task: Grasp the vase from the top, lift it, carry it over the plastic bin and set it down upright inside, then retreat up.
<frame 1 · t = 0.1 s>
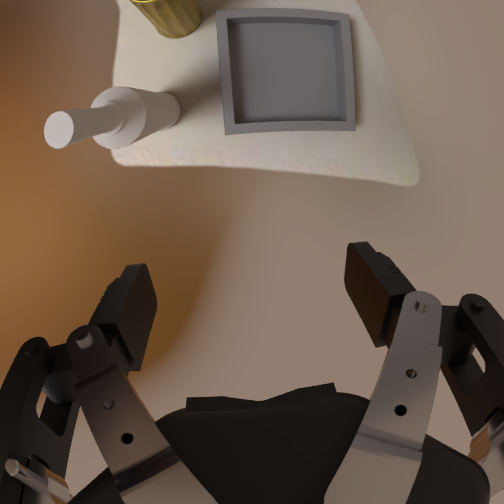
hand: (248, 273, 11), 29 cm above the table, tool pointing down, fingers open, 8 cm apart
bin: (283, 70, 32), on the table
bottle: (162, 111, 33), on the table
vase: (178, 19, 27), on the table
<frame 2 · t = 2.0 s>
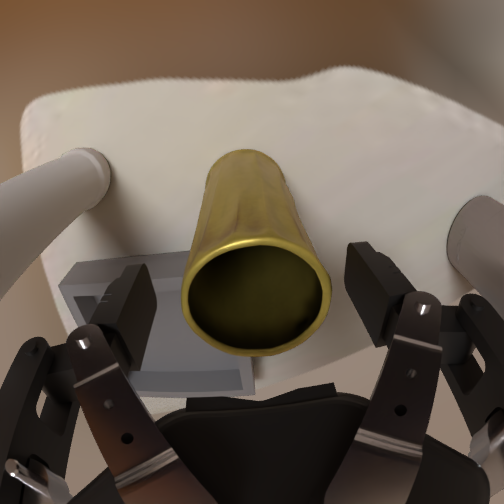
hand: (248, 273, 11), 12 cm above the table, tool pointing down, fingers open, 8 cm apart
bin: (169, 323, 28), on the table
bottle: (87, 174, 21), on the table
vase: (245, 186, 22), on the table
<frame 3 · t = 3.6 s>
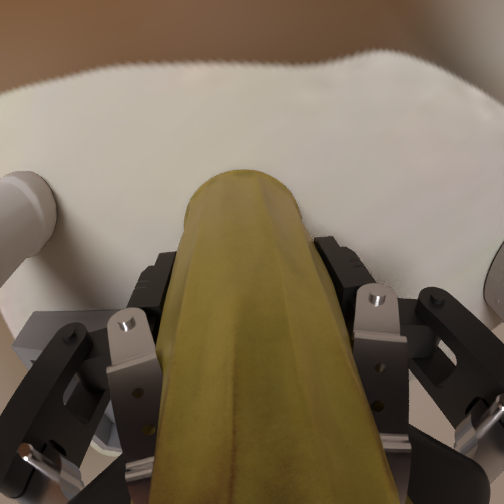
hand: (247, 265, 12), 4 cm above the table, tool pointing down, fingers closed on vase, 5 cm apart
bin: (150, 381, 21), on the table
bottle: (30, 206, 14), on the table
vase: (242, 223, 16), on the table, touching gripper
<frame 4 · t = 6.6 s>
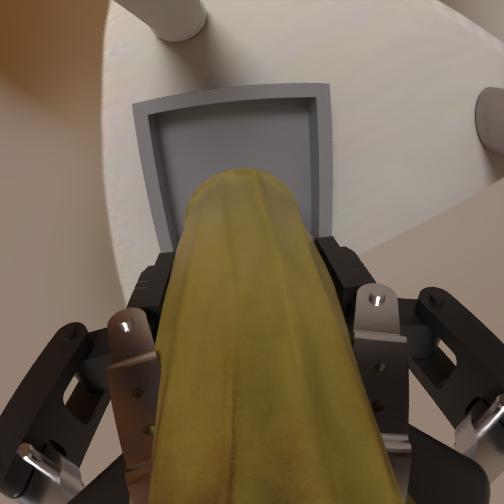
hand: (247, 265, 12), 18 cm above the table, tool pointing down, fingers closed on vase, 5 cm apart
bin: (238, 171, 27), on the table
bottle: (180, 20, 20), on the table
vase: (241, 222, 16), point 13 cm above the table, touching gripper
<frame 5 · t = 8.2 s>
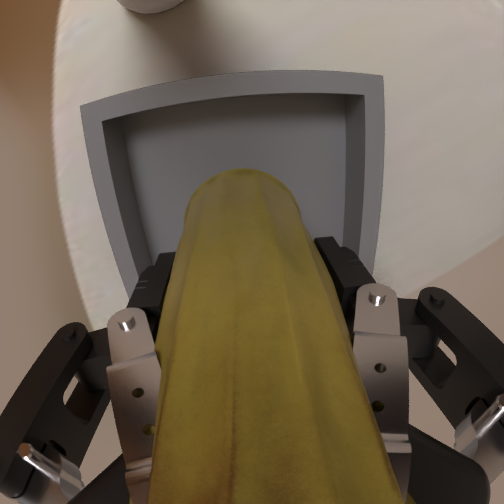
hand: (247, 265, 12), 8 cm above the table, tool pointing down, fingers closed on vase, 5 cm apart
bin: (241, 200, 19), on the table
vase: (242, 222, 16), point 4 cm above the table, touching gripper
when the fingers open (6 cm above the table, at t = 9.5 s): vase drops 1 cm, resting on bin.
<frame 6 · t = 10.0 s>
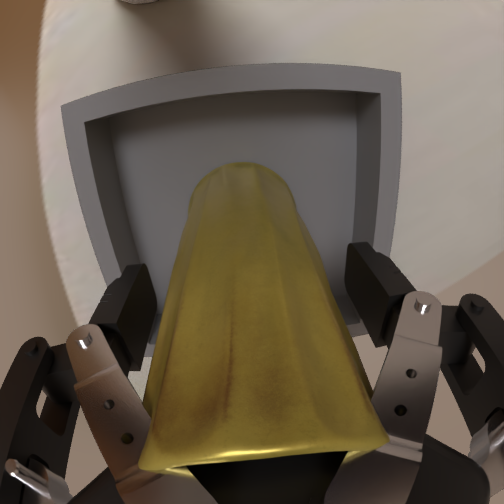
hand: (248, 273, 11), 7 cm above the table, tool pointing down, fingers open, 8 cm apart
bin: (241, 208, 18), on the table
vase: (241, 212, 17), point 1 cm above the table, touching bin
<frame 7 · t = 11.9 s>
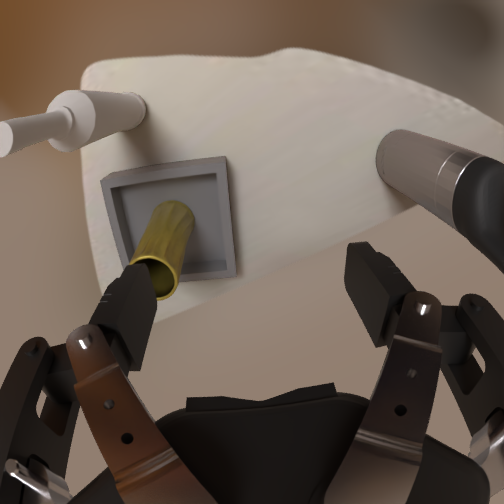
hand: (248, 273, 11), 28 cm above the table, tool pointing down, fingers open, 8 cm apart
bin: (174, 218, 40), on the table
bottle: (129, 110, 32), on the table
vase: (172, 220, 39), point 1 cm above the table, touching bin
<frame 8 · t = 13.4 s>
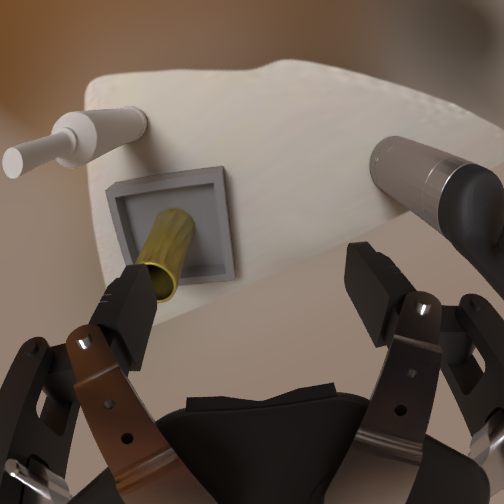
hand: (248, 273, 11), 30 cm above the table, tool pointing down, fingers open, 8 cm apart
bin: (175, 225, 42), on the table
bottle: (131, 123, 35), on the table
vase: (174, 226, 42), point 1 cm above the table, touching bin
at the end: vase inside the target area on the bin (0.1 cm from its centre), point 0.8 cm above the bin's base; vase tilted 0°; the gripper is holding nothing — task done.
